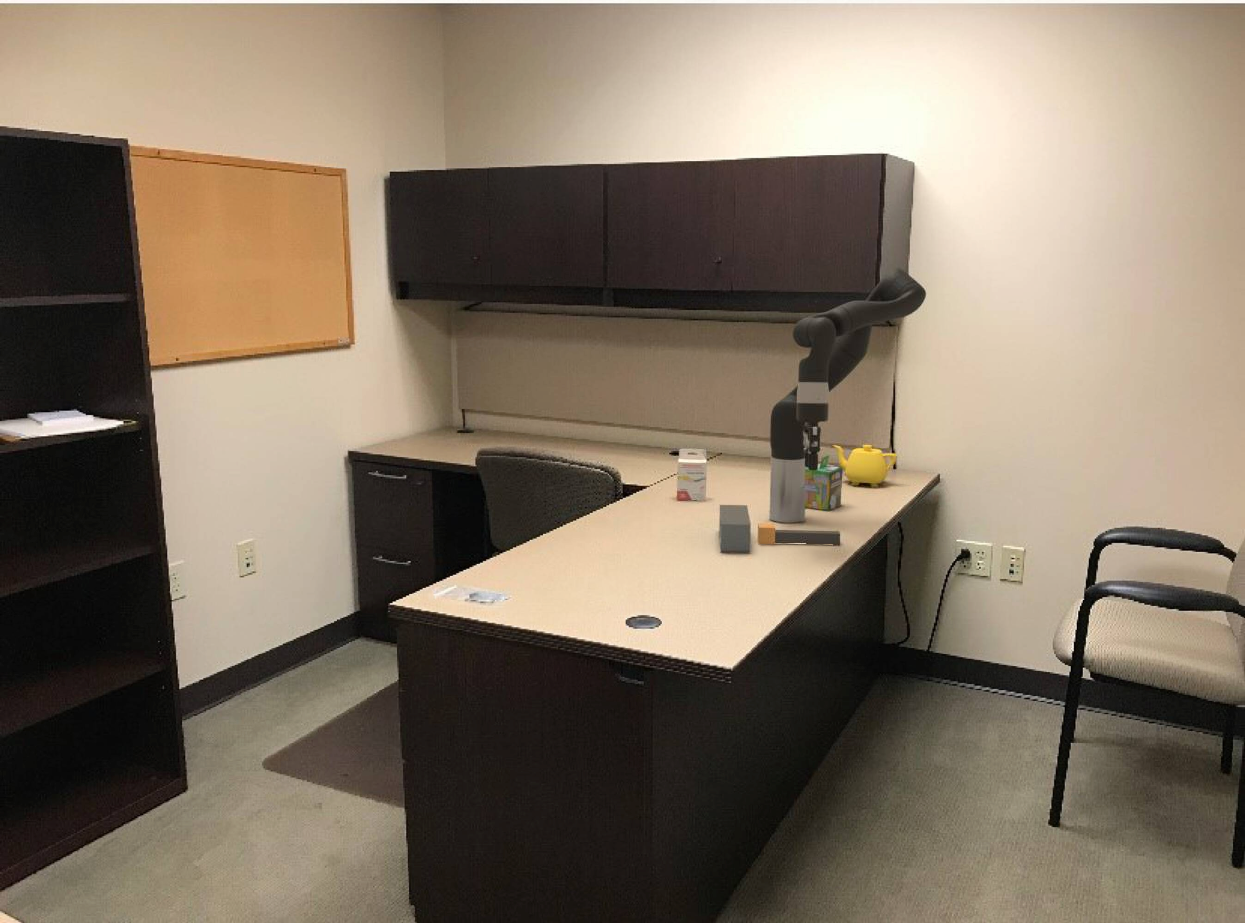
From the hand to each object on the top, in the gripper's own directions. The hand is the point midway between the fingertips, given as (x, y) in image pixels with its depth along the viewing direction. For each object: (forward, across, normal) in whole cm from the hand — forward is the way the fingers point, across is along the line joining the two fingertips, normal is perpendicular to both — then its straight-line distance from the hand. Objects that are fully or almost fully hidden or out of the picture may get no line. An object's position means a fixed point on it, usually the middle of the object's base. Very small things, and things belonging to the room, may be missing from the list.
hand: (811, 468), depth 246 cm
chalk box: (+14, +46, -8) cm, 49 cm away
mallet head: (+19, +6, +18) cm, 27 cm away
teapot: (+11, +78, -24) cm, 83 cm away
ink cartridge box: (+14, +52, +29) cm, 61 cm away
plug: (+19, +7, +2) cm, 20 cm away
